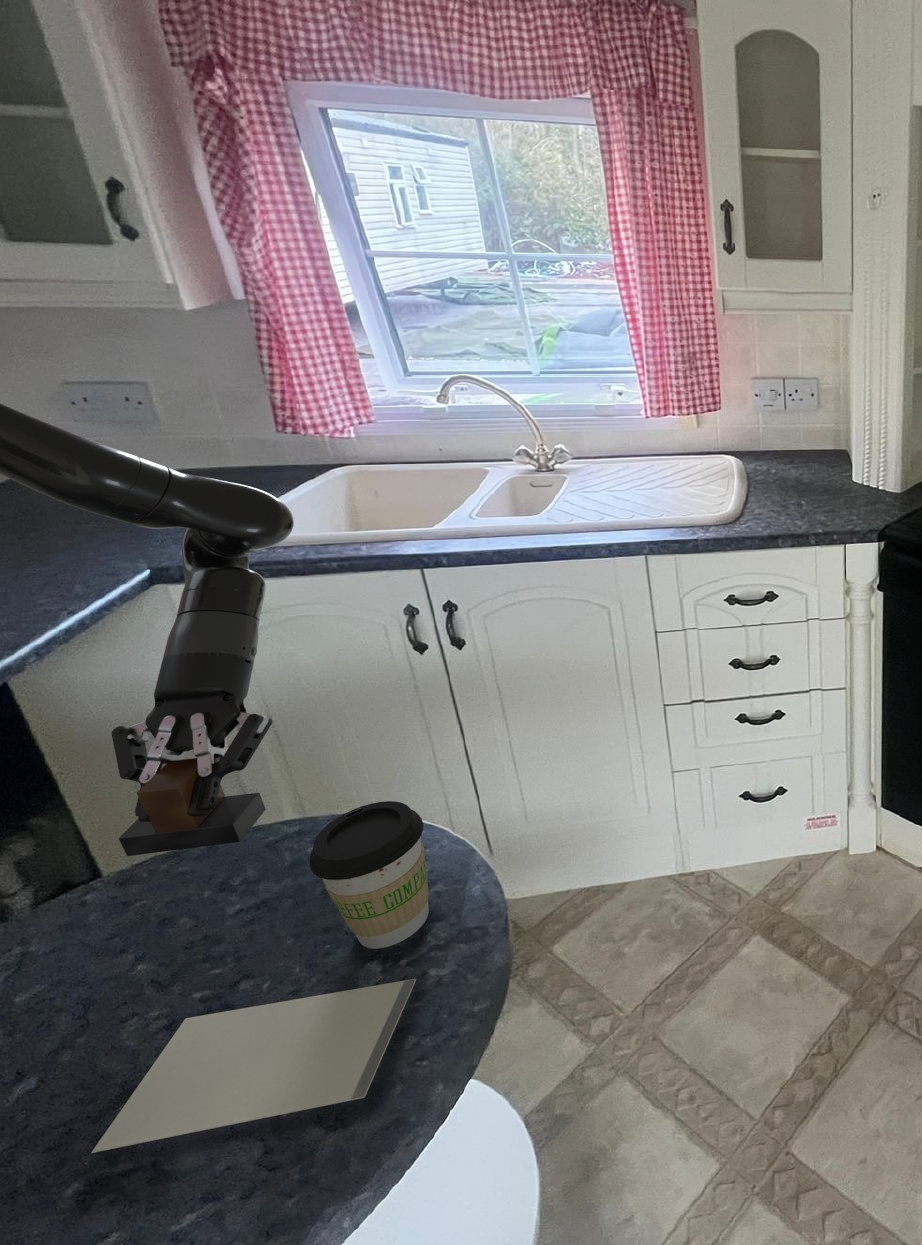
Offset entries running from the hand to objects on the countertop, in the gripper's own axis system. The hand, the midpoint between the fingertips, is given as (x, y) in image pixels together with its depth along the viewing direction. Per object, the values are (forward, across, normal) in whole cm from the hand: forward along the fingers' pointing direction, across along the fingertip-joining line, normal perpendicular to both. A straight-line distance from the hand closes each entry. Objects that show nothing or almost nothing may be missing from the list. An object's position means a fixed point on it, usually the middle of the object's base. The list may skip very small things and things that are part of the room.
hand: (174, 817), depth 81 cm
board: (+24, +14, -2) cm, 28 cm away
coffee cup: (+15, +19, +8) cm, 25 cm away
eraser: (+1, 0, +4) cm, 4 cm away
